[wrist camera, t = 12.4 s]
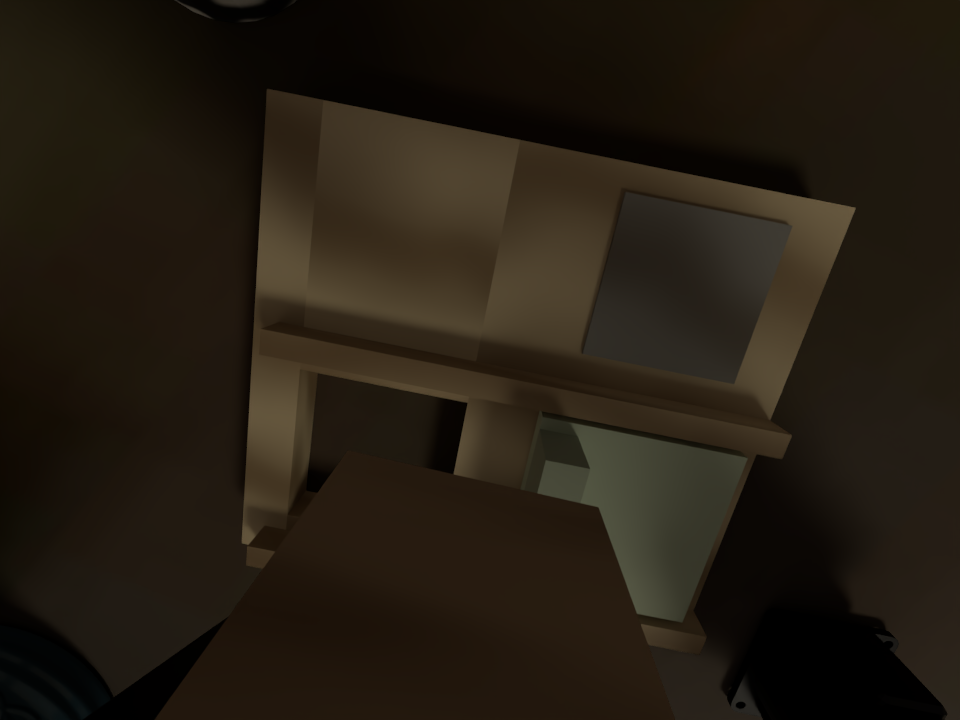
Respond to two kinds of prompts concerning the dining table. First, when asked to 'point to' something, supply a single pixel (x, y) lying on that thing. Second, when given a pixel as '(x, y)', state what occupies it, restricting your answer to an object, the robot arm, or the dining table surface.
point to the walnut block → (430, 611)
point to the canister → (44, 680)
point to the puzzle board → (517, 298)
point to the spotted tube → (236, 9)
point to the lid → (640, 500)
